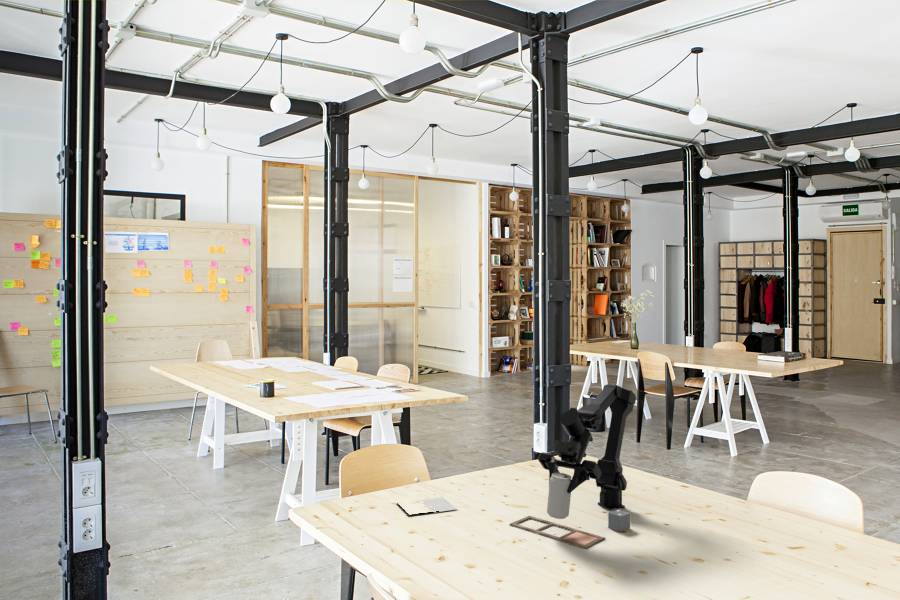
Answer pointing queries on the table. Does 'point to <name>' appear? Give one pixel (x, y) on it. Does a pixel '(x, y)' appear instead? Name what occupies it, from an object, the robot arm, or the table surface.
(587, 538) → the brown divided frame
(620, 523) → the grey cube
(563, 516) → the beverage can
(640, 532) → the table surface
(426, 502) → the paper stack
